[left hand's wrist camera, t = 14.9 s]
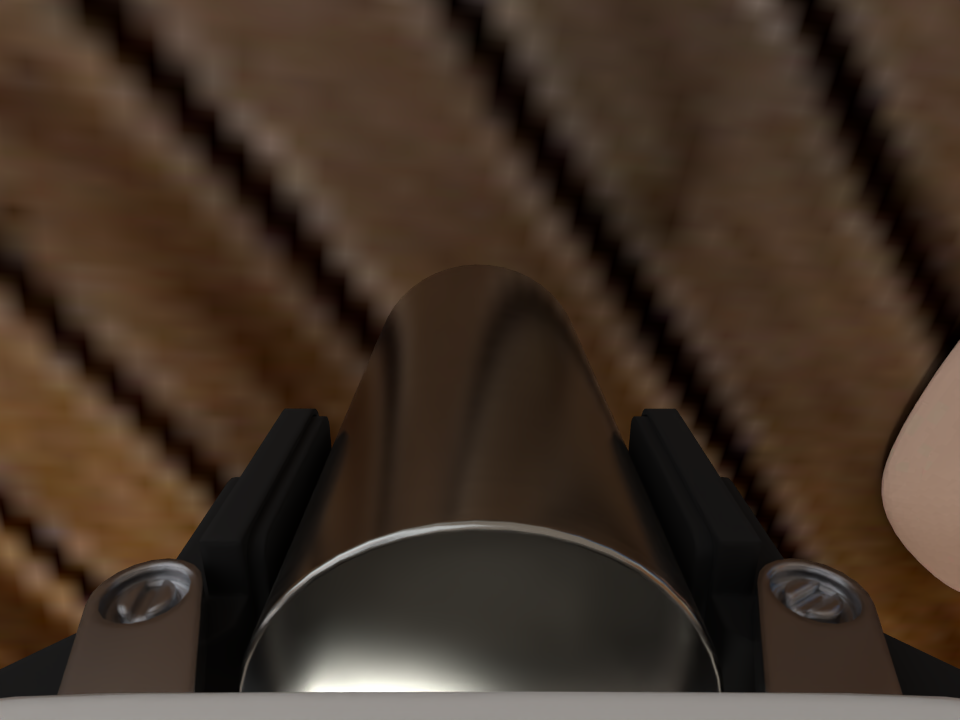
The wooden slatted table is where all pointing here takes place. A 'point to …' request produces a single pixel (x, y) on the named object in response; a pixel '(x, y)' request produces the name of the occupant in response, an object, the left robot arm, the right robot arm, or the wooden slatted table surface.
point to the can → (479, 521)
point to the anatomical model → (929, 476)
